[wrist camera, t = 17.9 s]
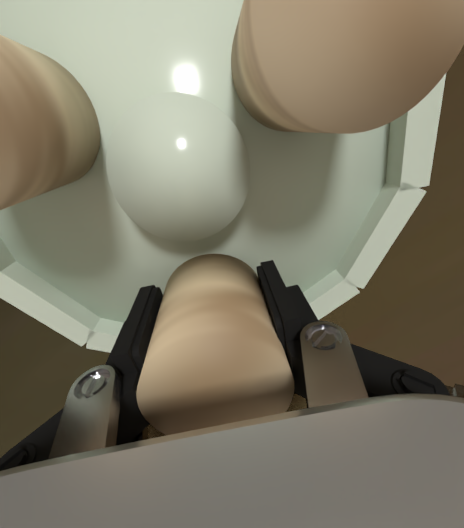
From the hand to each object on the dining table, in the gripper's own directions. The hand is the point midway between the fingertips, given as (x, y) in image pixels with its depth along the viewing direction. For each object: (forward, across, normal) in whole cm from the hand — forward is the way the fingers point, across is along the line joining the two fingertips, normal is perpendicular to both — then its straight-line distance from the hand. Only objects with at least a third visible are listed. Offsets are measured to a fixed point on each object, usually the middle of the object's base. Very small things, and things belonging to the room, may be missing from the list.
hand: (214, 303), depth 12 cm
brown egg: (0, 0, 0) cm, 0 cm away
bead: (+2, -5, -8) cm, 10 cm away
